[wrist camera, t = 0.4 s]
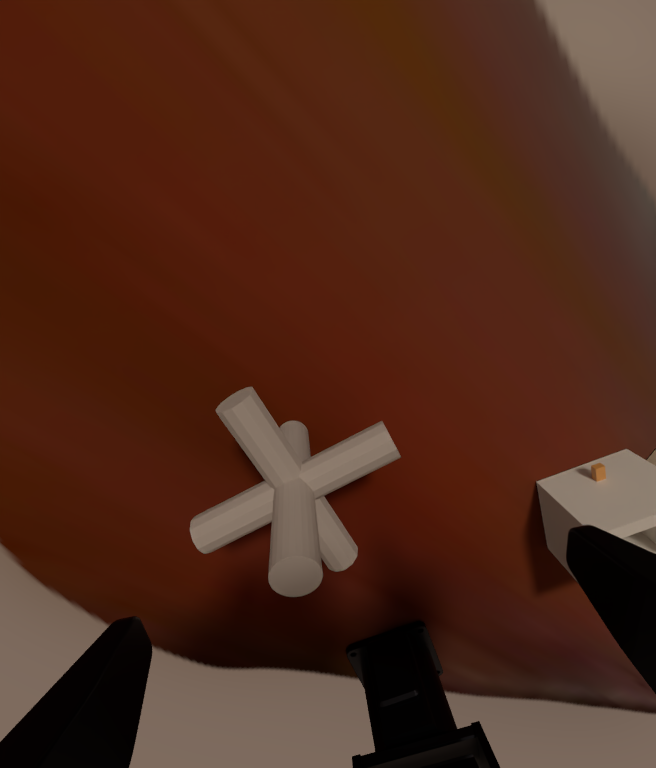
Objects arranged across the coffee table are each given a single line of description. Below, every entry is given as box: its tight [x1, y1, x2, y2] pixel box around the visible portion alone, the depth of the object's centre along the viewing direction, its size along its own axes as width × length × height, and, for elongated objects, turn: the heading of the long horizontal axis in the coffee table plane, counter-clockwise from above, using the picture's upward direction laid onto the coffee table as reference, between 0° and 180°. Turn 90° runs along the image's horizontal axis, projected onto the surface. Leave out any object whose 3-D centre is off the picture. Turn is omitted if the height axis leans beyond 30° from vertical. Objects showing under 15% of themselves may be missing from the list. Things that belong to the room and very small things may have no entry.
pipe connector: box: [190, 387, 401, 597], centre depth 17 cm, size 10×10×10 cm
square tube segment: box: [536, 449, 656, 584], centre depth 23 cm, size 7×6×5 cm
